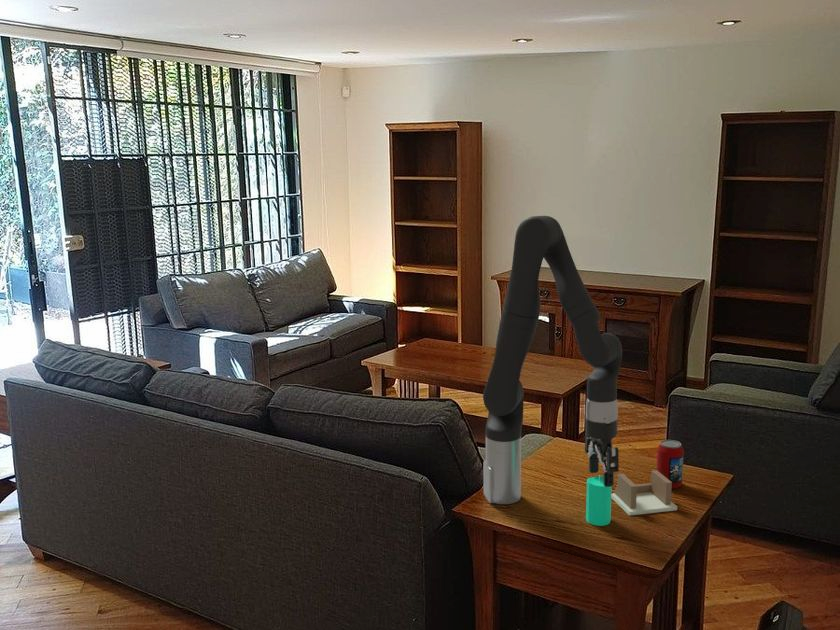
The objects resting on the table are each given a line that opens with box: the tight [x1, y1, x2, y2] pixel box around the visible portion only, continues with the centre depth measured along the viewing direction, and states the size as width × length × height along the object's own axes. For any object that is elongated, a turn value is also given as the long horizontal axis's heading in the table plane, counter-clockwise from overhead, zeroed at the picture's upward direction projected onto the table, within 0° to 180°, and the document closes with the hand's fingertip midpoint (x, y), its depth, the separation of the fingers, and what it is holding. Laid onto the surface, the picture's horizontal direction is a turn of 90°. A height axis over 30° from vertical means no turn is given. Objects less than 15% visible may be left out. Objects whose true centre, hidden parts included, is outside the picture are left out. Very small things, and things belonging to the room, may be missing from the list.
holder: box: [611, 469, 678, 516], centre depth 205 cm, size 13×11×7 cm
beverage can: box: [656, 439, 685, 490], centre depth 216 cm, size 7×7×12 cm
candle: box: [585, 474, 613, 527], centre depth 196 cm, size 6×6×12 cm
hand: (601, 479), depth 196 cm, fingers open, 8 cm apart
